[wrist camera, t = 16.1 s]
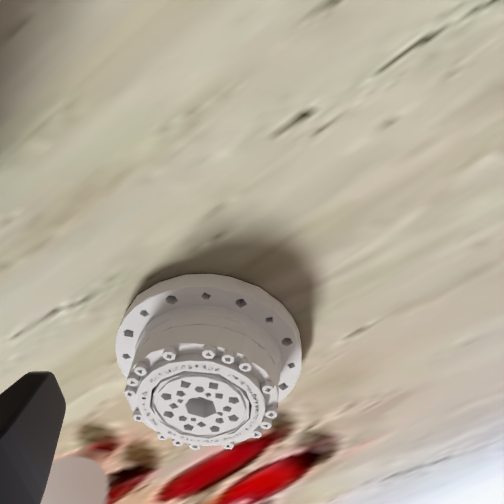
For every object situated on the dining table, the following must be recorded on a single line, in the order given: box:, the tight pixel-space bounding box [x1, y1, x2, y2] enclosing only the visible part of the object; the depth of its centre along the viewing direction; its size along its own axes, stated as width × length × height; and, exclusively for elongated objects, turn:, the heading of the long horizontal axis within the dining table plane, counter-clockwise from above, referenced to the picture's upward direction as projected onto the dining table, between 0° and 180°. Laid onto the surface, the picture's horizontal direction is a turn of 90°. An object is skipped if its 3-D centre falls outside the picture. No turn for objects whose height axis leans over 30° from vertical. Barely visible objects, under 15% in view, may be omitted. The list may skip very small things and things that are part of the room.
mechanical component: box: [115, 274, 302, 450], centre depth 25 cm, size 10×4×10 cm
